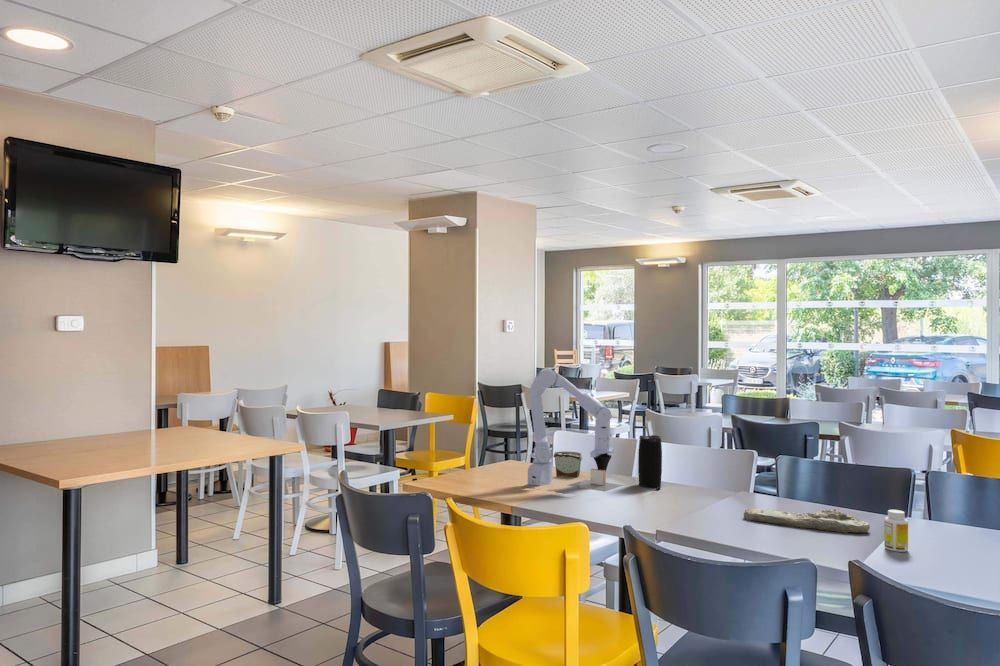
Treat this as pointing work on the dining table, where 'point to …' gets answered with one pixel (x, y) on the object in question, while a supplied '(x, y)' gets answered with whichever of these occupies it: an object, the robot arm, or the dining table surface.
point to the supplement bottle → (896, 531)
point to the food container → (567, 463)
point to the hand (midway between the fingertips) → (602, 474)
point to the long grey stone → (810, 520)
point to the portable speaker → (650, 461)
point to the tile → (598, 477)
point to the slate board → (594, 485)
